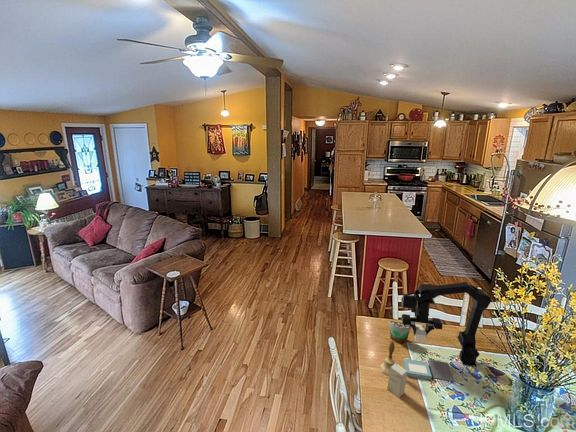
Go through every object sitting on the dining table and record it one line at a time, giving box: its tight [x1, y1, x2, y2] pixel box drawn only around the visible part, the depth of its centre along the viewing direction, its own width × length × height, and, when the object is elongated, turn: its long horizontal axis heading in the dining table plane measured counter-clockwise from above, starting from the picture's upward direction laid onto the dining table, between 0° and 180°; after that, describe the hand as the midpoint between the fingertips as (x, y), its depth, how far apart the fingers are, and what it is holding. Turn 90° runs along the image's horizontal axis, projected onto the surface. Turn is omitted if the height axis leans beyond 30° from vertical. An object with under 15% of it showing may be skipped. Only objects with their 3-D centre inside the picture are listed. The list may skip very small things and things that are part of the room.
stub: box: [413, 323, 427, 344], centre depth 158 cm, size 4×7×6 cm, turn 167°
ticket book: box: [403, 357, 433, 381], centre depth 150 cm, size 11×10×2 cm
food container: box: [388, 319, 413, 344], centre depth 171 cm, size 12×6×10 cm, turn 62°
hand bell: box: [379, 340, 396, 376], centre depth 149 cm, size 8×8×16 cm
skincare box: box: [387, 362, 408, 398], centre depth 137 cm, size 6×4×12 cm
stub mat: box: [427, 359, 456, 383], centre depth 150 cm, size 10×12×1 cm
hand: (419, 335), depth 158 cm, fingers closed on stub, 4 cm apart
